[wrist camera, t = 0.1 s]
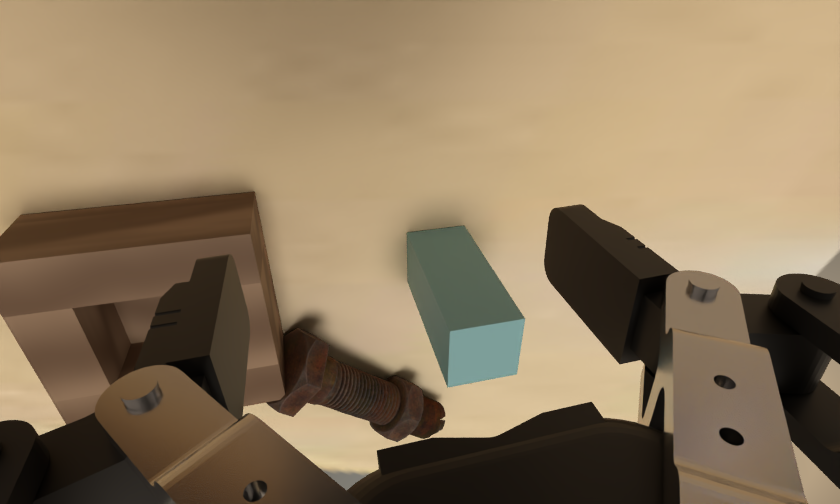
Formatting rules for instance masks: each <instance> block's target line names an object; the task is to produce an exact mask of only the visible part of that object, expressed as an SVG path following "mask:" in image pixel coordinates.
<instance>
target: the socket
mask: <svg viewBox="0 0 840 504" xmlns="http://www.w3.org/2000/svg"><path fill="white" fill-rule="evenodd" d="M227 254H231V255H232V256H233V259H234V261H235V265H236V268H237V272H238V276H239V279H240V283H241V287H242V290H243V294H244V298H245V302H246V305H247V309H248V314H249V321H250V340H249V351H248V361H247V372H246V383H245V394H244V405H243V406H248V405H254V404H259V403H265V402H270V401H276V400H280V399H281V398H282V397H283V396H284V395H285V373H284V343H283V337H284V336H283V331H282V326H281V321H280V316H279V311H278V306H277V301H276V296H275V291H274V286H273V281H272V276H271V271H270V266H269V261H268V256H267V251H266V246H265V241H264V236H263V231H262V226H261V221H260V216H259V211H258V206H257V201H256V196H255V192H248V193H238V194H228V195H218V196H208V197H197V198H187V199H177V200H167V201H157V202H147V203H137V204H127V205H117V206H107V207H97V208H87V209H76V210H66V211H56V212H46V213H36V214H26V215H20V216H19V217H18V218H17V219H16V221H15V222H14V223H13V224H12V225H11V226H10V227H9V228H8V229H7V230H6V231H5V232H4V233H3V234H2V235H1V236H0V314H1V315H2V317H3V319H4V320H5V322H6V324H7V325H8V327H9V329H10V330H11V332H12V334H13V336H14V337H15V339H16V341H17V342H18V344H19V346H20V347H21V349H22V351H23V352H24V354H25V356H26V357H27V359H28V361H29V362H30V364H31V366H32V367H33V369H34V371H35V372H36V374H37V376H38V378H39V379H40V381H41V383H42V384H43V386H44V388H45V389H46V391H47V393H48V394H49V396H50V398H51V399H52V401H53V403H54V404H55V406H56V408H57V409H58V411H59V413H60V414H61V416H62V418H63V419H64V421H65V423H66V425H67V424H69V423H72V422H74V421H77V420H79V419H82V418H84V417H86V416H88V415H90V414H92V413H94V412H95V406H96V403H97V401H98V399H99V398H100V396H101V395H102V393H103V392H104V391H105V390H106V389H107V388H108V387H109V386H110V385H111V384H113V383H114V382H115V381H117V380H118V379H120V378H121V377H123V376H125V375H127V374H129V373H131V372H133V370H134V367H135V365H136V362H137V359H138V357H139V354H140V351H141V349H142V346H143V343H144V341H145V338H146V335H147V333H148V330H149V329H150V325H151V322H152V319H153V317H154V316H155V311H156V309H157V306H158V303H159V301H160V298H161V297H162V296H163V295H164V294H165V293H166V292H167V291H168V290H169V289H170V288H171V287H172V286H173V285H174V284H175V283H182V282H188V281H190V278H191V275H192V272H193V268H194V265H195V262H196V260H197V259H199V258H206V257H213V256H220V255H227Z"/></svg>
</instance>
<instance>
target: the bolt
mask: <svg viewBox="0 0 840 504" xmlns="http://www.w3.org/2000/svg"><path fill="white" fill-rule="evenodd" d="M283 343H284V373H285V395H284V396H283V397H282V398H281V399H280V400H276V401H270V402H266V403H267V404H268V405H269V406H270V407H272V408H273V409H274V410H276V411H277V412H279V413H282V414H285V415H289V416H292V417H293V416H294V415H295V414H296V413H297V412H298V411H299V410H300V409H301V408H302V407H303V406H304V405H305V404H306V403H310V404H314V405H316V404H318V405H322V406H326V407H328V408H331V409H334V410H337V411H340V412H342V413H345V414H348V415H352V416H355V417H358V418H362V419H365V420H368V421H370V425H371V427H372V428H373V429H374V430H375V431H376V432H378V433H379V434H381V435H382V436H384V437H385V438H387V439H390V440H393V441H396V442H398V441H400V440H402V439H404V438H405V437H407V436H408V435H409V434H410V435H413V436H416V437H419V438H423V439H425V438H428V437H430V436H431V435H433V434H435V433H437V432H438V431H439V430H442V429H443V426H444V423H445V420H444V421H443V420H440V419H442V418H443V417H445V411H444V408H443V406H442V405H441V404H440V403H439V402H437V401H435V400H432V399H429V398H427V397H425V396H423V394H422V389H421V388H419V387H418V386H416V385H415V384H413V383H411V382H409V381H407V380H405V379H403V378H400V377H398V376H396V375H394V376H392V377H390V378H388V379H387V380H383V379H380V378H378V377H375V376H373V375H371V374H368V373H366V372H363V371H361V370H358V369H356V368H353V367H351V366H348V365H346V364H344V363H341V362H339V361H336V360H335V359H334V358H332V357H330V356H328V350H329V345H328V344H327V343H325V342H324V341H322V340H320V339H319V338H317V337H316V336H314V335H313V334H311V333H309V332H306V331H304V330H302V329H299V328H297V329H295V330H294V331H292V332H290V333H288V334H287V335H285V336H284V337H283Z"/></svg>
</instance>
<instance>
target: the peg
mask: <svg viewBox="0 0 840 504" xmlns="http://www.w3.org/2000/svg"><path fill="white" fill-rule="evenodd" d="M407 277H408V284H409V287H410V289H411V292H412V295H413V297H414V300H415V303H416V305H417V308H418V310H419V313H420V316H421V318H422V321H423V324H424V326H425V329H426V332H427V334H428V337H429V340H430V342H431V345H432V348H433V350H434V353H435V355H436V358H437V361H438V363H439V366H440V369H441V371H442V374H443V377H444V379H445V382H446V385H447V387H453V386H458V385H463V384H468V383H474V382H479V381H484V380H489V379H495V378H500V377H505V376H510V375H516V374H517V370H518V363H519V356H520V349H521V343H522V336H523V329H524V322H525V318H524V316H523V315H522V313H521V312H520V310H519V309H518V307H517V306H516V304H515V303H514V301H513V300H512V298H511V296H510V295H509V293H508V292H507V290H506V289H505V287H504V286H503V284H502V283H501V281H500V280H499V278H498V277H497V275H496V274H495V272H494V270H493V269H492V267H491V266H490V264H489V263H488V261H487V260H486V258H485V257H484V255H483V254H482V252H481V251H480V249H479V247H478V246H477V244H476V243H475V241H474V240H473V238H472V237H471V235H470V234H469V232H468V231H467V229H466V228H465V226H456V227H448V228H440V229H432V230H424V231H416V232H408V233H407Z"/></svg>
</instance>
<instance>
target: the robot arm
mask: <svg viewBox="0 0 840 504" xmlns="http://www.w3.org/2000/svg"><path fill="white" fill-rule="evenodd" d="M544 266H545V271H546V275H547V277H548V280H549V281H550V283H551V284H552V285H553V286H554V288H555V289H556V290H557V291H558V292H559V293H560V295H561V296H562V297H563V298H564V299H565V301H566V302H567V303H568V304H569V305H570V306H571V308H572V309H573V310H574V311H575V312H576V313H577V315H578V316H579V317H580V318H581V319H582V321H583V322H584V323H585V324H586V325H587V326H588V328H589V329H590V330H591V331H592V332H593V334H594V335H595V336H596V337H597V338H598V339H599V341H600V342H601V343H602V344H603V345H604V346H605V348H606V349H607V350H608V351H609V352H610V354H611V355H612V356H613V357H614V358H615V359H616V361H617V362H618V363H619V364H623V363H628V362H633V361H638V360H641V361H642V362H643V363H644V366H643V369H642V373H641V382H640V396H639V410H638V423H636V422H631V421H626V420H620V419H611V418H603V417H602V416H601V414H600V413H599V411H598V410H597V409H596V407H595V406H594V404H593V403H592V402H588V403H584V404H580V405H575V406H571V407H566V408H562V409H558V410H553V411H549V412H544V413H541V414H539V415H537V416H535V417H533V418H531V419H530V420H528V421H526V422H524V423H522V424H520V425H518V426H516V427H514V428H512V429H510V430H508V431H506V432H504V433H502V434H500V435H498V436H496V437H490V438H430V439H425V440H421V441H417V442H412V443H408V444H403V445H399V446H395V447H390V448H386V449H381V450H377V457H378V465H379V469H378V470H376V471H375V472H373V473H371V474H369V475H367V476H366V477H364V478H363V479H361V480H360V481H358V482H357V483H355V484H354V485H353V486H352V487H351V488H349V489H348V490H347V491H346V490H345V489H344V488H343V487H341V486H340V485H339V484H338V483H337V482H335V481H334V480H333V479H332V478H331V477H329V476H328V475H327V474H326V473H324V472H323V471H322V470H321V469H320V468H318V467H317V466H316V465H315V464H314V463H312V462H311V461H310V460H309V459H308V458H306V457H305V456H304V455H303V454H302V453H300V452H299V451H298V450H297V449H295V448H294V447H293V446H292V445H291V444H289V443H288V442H287V441H286V440H285V439H283V438H282V437H281V436H280V435H279V434H277V433H276V432H275V431H274V430H273V429H271V428H270V427H269V426H268V425H266V424H265V423H264V422H263V421H262V420H260V419H259V418H258V417H256V416H255V415H253V414H250V413H247V414H245V415H244V416H243V417H242V415H243V405H244V394H245V383H246V372H247V361H248V351H249V340H250V321H249V314H248V309H247V305H246V302H245V298H244V294H243V290H242V287H241V283H240V279H239V276H238V272H237V268H236V265H235V261H234V259H233V256H232V255H231V254H227V255H220V256H213V257H206V258H199V259H197V260H196V262H195V265H194V268H193V272H192V275H191V278H190V281H188V282H182V283H175V284H174V285H173V286H172V287H171V288H170V289H169V290H168V291H167V292H166V293H165V294H164V295H163V296H162V297H161V298H160V301H159V303H158V306H157V309H156V311H155V316H154V317H153V319H152V322H151V325H150V329H149V330H148V333H147V335H146V338H145V341H144V343H143V346H142V349H141V351H140V354H139V357H138V359H137V362H136V365H135V367H134V370H133V372H131V373H129V374H127V375H125V376H123V377H121V378H120V379H118V380H117V381H115V382H114V383H113V384H111V385H110V386H109V387H108V388H107V389H106V390H105V391H104V392H103V393H102V395H101V396H100V398H99V399H98V401H97V403H96V406H95V412H94V413H92V414H90V415H88V416H86V417H84V418H82V419H79V420H77V421H74V422H72V423H69V424H67V425H65V426H62V427H60V428H57V429H55V430H52V431H50V432H47V433H45V434H42V435H40V436H39V435H38V434H37V432H36V431H35V429H34V428H33V427H32V425H30V424H29V423H27V422H24V421H20V420H7V421H2V422H0V504H808V503H807V500H806V498H805V495H804V491H803V487H802V483H801V479H800V475H799V471H798V467H797V462H796V459H795V454H794V450H793V446H792V442H793V443H794V444H795V445H796V446H797V447H798V448H799V449H800V450H801V451H802V452H803V453H804V454H805V455H806V456H807V457H808V458H809V459H810V460H811V461H812V462H813V463H814V464H815V465H816V466H817V467H818V468H819V469H820V470H821V471H822V472H823V473H824V474H825V475H826V476H827V477H828V478H829V479H830V480H831V481H832V482H833V483H834V484H835V485H836V486H837V487H838V488H839V489H840V396H838V395H837V394H836V393H835V392H834V391H832V390H831V389H830V388H829V387H828V386H826V385H825V384H824V383H823V382H821V381H820V379H821V377H822V376H823V374H824V372H825V370H826V367H827V366H828V364H829V362H830V360H831V359H833V360H835V361H836V362H838V363H839V364H840V284H837V283H835V282H833V281H830V280H828V279H824V278H821V277H817V276H813V275H807V274H787V275H783V276H780V277H779V278H778V279H777V281H776V283H775V285H774V288H773V290H772V293H771V295H764V294H740V293H739V291H738V289H737V288H736V287H735V286H734V285H732V284H731V283H730V282H728V281H726V280H725V279H723V278H721V277H718V276H716V275H713V274H709V273H705V272H701V271H690V270H688V271H678V270H677V269H675V268H674V267H673V266H671V265H670V264H669V263H668V262H666V261H665V260H664V259H662V258H661V257H660V256H658V255H657V254H656V253H654V252H653V251H652V250H651V249H649V248H645V245H644V244H643V243H641V242H640V241H639V240H638V239H635V238H634V236H632V235H631V234H630V233H628V232H627V231H626V230H624V229H623V228H622V227H620V226H617V225H615V224H613V223H610V222H608V221H605V220H602V219H601V218H599V217H598V216H597V215H596V214H594V213H593V212H592V211H591V210H589V209H588V208H587V207H586V206H584V205H582V204H581V205H573V206H566V207H559V208H554V209H553V210H552V211H551V213H550V216H549V222H548V231H547V240H546V249H545V258H544ZM791 441H792V442H791Z"/></svg>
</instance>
